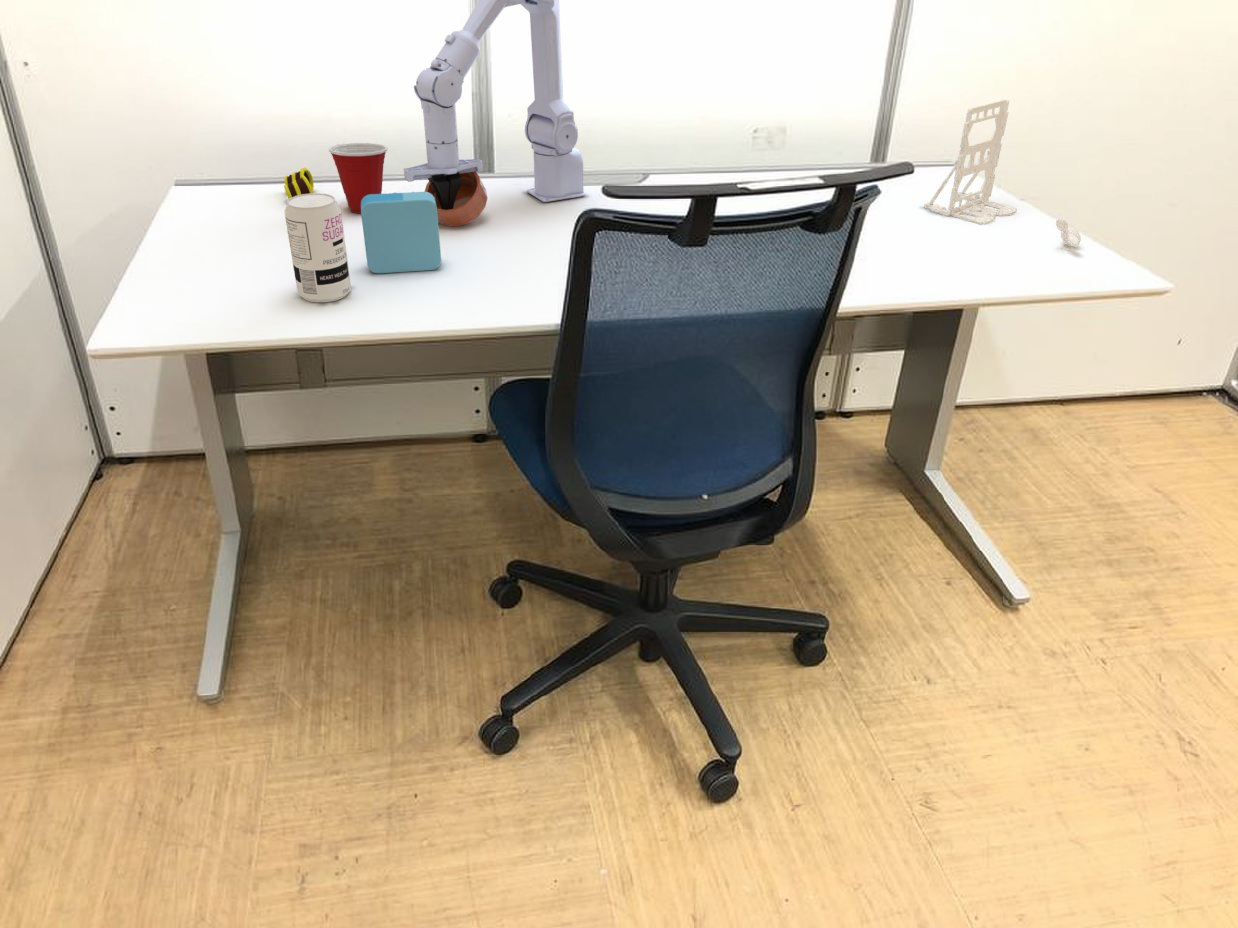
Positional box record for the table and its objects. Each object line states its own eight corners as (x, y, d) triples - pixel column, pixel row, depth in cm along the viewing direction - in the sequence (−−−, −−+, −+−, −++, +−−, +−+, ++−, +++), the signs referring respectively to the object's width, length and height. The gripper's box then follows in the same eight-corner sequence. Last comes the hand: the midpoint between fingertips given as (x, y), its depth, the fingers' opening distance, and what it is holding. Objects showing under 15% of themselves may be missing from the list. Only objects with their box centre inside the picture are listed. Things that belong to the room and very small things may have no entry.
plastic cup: (400, 201, 199) (394, 139, 193) (384, 219, 190) (377, 154, 184) (347, 199, 200) (339, 137, 194) (328, 216, 191) (319, 152, 185)
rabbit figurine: (1090, 246, 183) (1086, 238, 176) (1070, 261, 184) (1066, 253, 177) (1069, 222, 185) (1064, 213, 178) (1050, 236, 186) (1044, 228, 179)
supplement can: (303, 284, 162) (288, 192, 154) (355, 283, 163) (343, 191, 155) (293, 304, 156) (277, 209, 148) (348, 303, 156) (335, 208, 148)
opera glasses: (290, 194, 205) (281, 170, 202) (316, 187, 205) (307, 164, 203) (290, 209, 197) (281, 184, 194) (317, 202, 197) (308, 177, 195)
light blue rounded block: (440, 260, 172) (434, 190, 166) (442, 269, 169) (436, 199, 162) (368, 264, 170) (359, 194, 164) (368, 274, 166) (359, 203, 160)
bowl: (472, 172, 193) (464, 155, 189) (497, 207, 188) (490, 191, 184) (424, 202, 192) (414, 186, 188) (448, 238, 187) (439, 222, 183)
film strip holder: (982, 226, 191) (1005, 118, 181) (920, 208, 200) (938, 104, 189) (1022, 211, 199) (1046, 107, 189) (961, 195, 208) (981, 94, 198)
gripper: (410, 150, 175) (418, 226, 182) (488, 140, 181) (492, 214, 188) (397, 141, 180) (404, 215, 187) (472, 131, 186) (477, 204, 193)
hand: (447, 214), depth 188 cm, fingers closed, pressing on bowl
